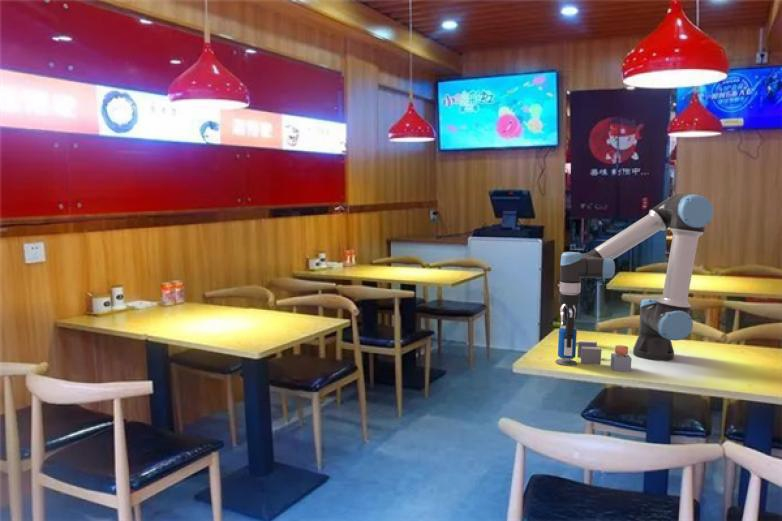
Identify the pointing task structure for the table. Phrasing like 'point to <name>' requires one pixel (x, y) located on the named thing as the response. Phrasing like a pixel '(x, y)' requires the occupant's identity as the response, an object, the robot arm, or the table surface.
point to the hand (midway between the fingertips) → (566, 352)
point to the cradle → (589, 352)
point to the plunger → (621, 350)
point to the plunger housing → (620, 362)
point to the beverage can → (562, 343)
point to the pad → (566, 362)
